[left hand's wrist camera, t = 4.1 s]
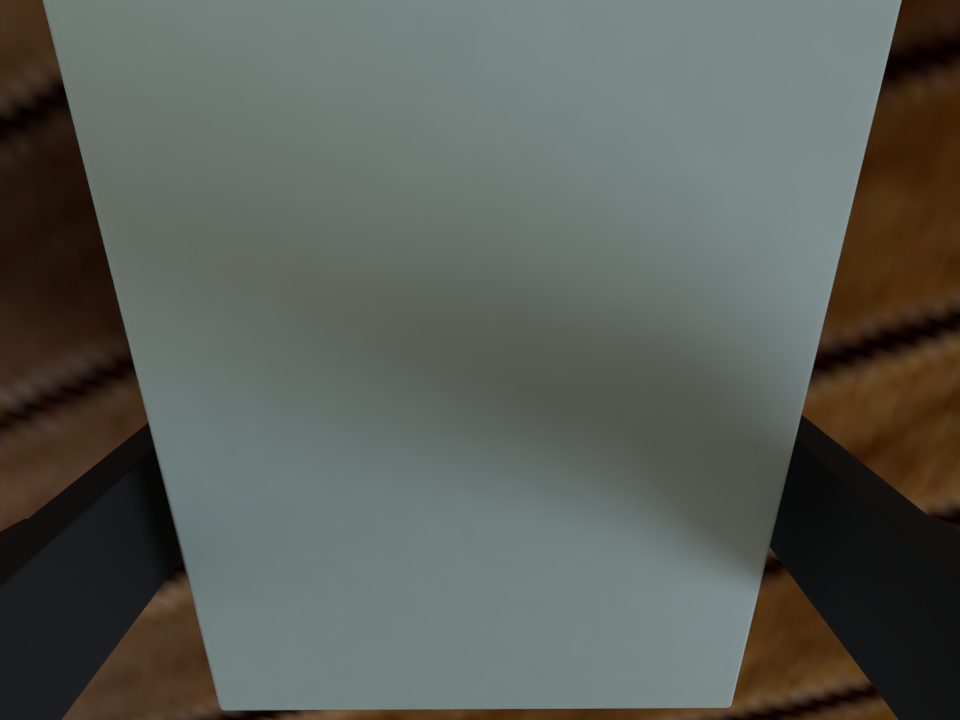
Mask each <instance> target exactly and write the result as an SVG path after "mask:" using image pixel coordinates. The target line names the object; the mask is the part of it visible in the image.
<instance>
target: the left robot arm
mask: <svg viewBox="0 0 960 720" xmlns="http://www.w3.org/2000/svg"><path fill="white" fill-rule="evenodd" d="M770 548H771V549H772V550H773V552H774V553H775V555H776V556H777V557H778V559H779V560H780V561H781V563H782V564H783V565H784V567H785V568H786V569H787V571H788V572H789V573H790V575H791V576H792V577H793V579H794V580H795V581H796V583H797V584H798V585H799V587H800V588H801V589H802V591H803V592H804V593H805V595H806V596H807V597H808V599H809V600H810V601H811V603H812V604H813V605H814V607H815V608H816V610H817V611H818V612H819V614H820V615H821V616H822V618H823V619H824V620H825V622H826V623H827V624H828V626H829V627H830V628H831V630H832V631H833V632H834V634H835V635H836V636H837V638H838V639H839V640H840V642H841V643H842V644H843V646H844V647H845V648H846V650H847V651H848V652H849V654H850V655H851V656H852V658H853V659H854V660H855V662H856V663H857V665H858V666H859V667H860V669H861V670H862V671H863V673H864V674H865V675H866V677H867V678H868V679H869V681H870V682H871V683H872V685H873V686H874V687H875V689H876V690H877V691H878V693H879V694H880V695H881V697H882V698H883V699H884V701H885V702H886V703H887V705H888V706H889V707H890V709H891V710H892V711H893V713H894V714H895V715H896V717H897V718H898V720H960V529H958V528H956V527H954V526H952V525H950V524H948V523H946V522H944V521H943V520H941V519H939V518H937V517H929V516H928V515H927V514H925V513H924V512H923V511H922V510H920V509H919V508H918V507H917V506H915V505H914V504H913V503H912V502H910V501H909V500H908V499H907V498H905V497H904V496H903V495H902V494H900V493H899V492H898V491H897V490H895V489H894V488H893V487H892V486H890V485H889V484H888V483H887V482H885V481H884V480H883V479H882V478H880V477H879V476H878V475H877V474H875V473H874V472H873V471H872V470H870V469H869V468H868V467H867V466H865V465H864V464H863V463H861V462H860V461H859V460H858V459H856V458H855V457H854V456H853V455H851V454H850V453H849V452H848V451H846V450H845V449H844V448H843V447H841V446H840V445H839V444H838V443H836V442H835V441H834V440H833V439H831V438H830V437H829V436H828V435H826V434H825V433H824V432H823V431H821V430H820V429H819V428H818V427H816V426H815V425H814V424H813V423H811V422H810V421H809V420H808V419H806V418H805V417H804V416H803V415H801V418H800V422H799V426H798V431H797V435H796V439H795V443H794V447H793V451H792V455H791V459H790V464H789V468H788V472H787V476H786V480H785V484H784V488H783V493H782V497H781V501H780V505H779V509H778V513H777V517H776V522H775V526H774V530H773V534H772V538H771V542H770ZM181 559H182V554H181V550H180V546H179V542H178V538H177V534H176V530H175V526H174V522H173V518H172V514H171V510H170V506H169V502H168V498H167V494H166V490H165V486H164V482H163V478H162V474H161V470H160V466H159V462H158V458H157V454H156V450H155V446H154V442H153V438H152V434H151V430H150V426H149V423H147V424H146V425H145V426H144V427H142V428H141V429H140V430H139V431H137V432H136V433H135V434H134V435H132V436H131V437H130V438H129V439H127V440H126V441H125V442H124V443H122V444H121V445H120V446H119V447H117V448H116V449H115V450H114V451H112V452H111V453H110V454H109V455H107V456H106V457H105V458H104V459H102V460H101V461H100V462H99V463H97V464H96V465H95V466H93V467H92V468H91V469H90V470H88V471H87V472H86V473H85V474H83V475H82V476H81V477H80V478H78V479H77V480H76V481H75V482H73V483H72V484H71V485H70V486H68V487H67V488H66V489H65V490H63V491H62V492H61V493H60V494H58V495H57V496H56V497H55V498H53V499H52V500H51V501H50V502H48V503H47V504H46V505H45V506H43V507H42V508H41V509H40V510H38V511H37V512H36V513H35V514H33V515H32V516H31V517H30V518H28V519H24V520H22V521H20V522H18V523H16V524H14V525H12V526H10V527H8V528H7V529H5V530H3V531H1V532H0V720H62V718H63V717H64V715H65V714H66V713H67V711H68V710H69V709H70V707H71V706H72V705H73V703H74V702H75V701H76V699H77V698H78V697H79V695H80V694H81V693H82V691H83V690H84V689H85V687H86V686H87V685H88V683H89V682H90V681H91V679H92V678H93V677H94V675H95V674H96V673H97V671H98V670H99V669H100V667H101V666H102V665H103V663H104V662H105V660H106V659H107V658H108V656H109V655H110V654H111V652H112V651H113V650H114V648H115V647H116V646H117V644H118V643H119V642H120V640H121V639H122V638H123V636H124V635H125V634H126V632H127V631H128V630H129V628H130V627H131V626H132V624H133V623H134V622H135V620H136V619H137V618H138V616H139V615H140V614H141V612H142V611H143V610H144V608H145V607H146V605H147V604H148V603H149V601H150V600H151V599H152V597H153V596H154V595H155V593H156V592H157V591H158V589H159V588H160V587H161V585H162V584H163V583H164V581H165V580H166V579H167V577H168V576H169V575H170V573H171V572H172V571H173V569H174V568H175V567H176V565H177V564H178V563H179V561H180V560H181Z"/></svg>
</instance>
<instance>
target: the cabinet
mask: <svg viewBox="0 0 960 720" xmlns="http://www.w3.org/2000/svg"><path fill="white" fill-rule="evenodd" d="M43 3H44V7H45V11H46V15H47V19H48V23H49V27H50V31H51V35H52V39H53V43H54V47H55V51H56V55H57V59H58V63H59V67H60V71H61V75H62V79H63V83H64V87H65V91H66V95H67V99H68V103H69V107H70V111H71V115H72V119H73V123H74V127H75V131H76V135H77V139H78V143H79V147H80V151H81V155H82V159H83V163H84V167H85V171H86V175H87V179H88V183H89V187H90V191H91V195H92V199H93V203H94V207H95V211H96V215H97V219H98V223H99V227H100V231H101V235H102V239H103V243H104V247H105V251H106V255H107V259H108V263H109V267H110V271H111V275H112V279H113V282H114V286H115V290H116V294H117V298H118V302H119V306H120V310H121V314H122V318H123V322H124V326H125V330H126V334H127V338H128V342H129V346H130V350H131V354H132V358H133V362H134V366H135V370H136V374H137V378H138V382H139V386H140V390H141V394H142V398H143V402H144V406H145V410H146V414H147V418H148V422H149V426H150V430H151V434H152V438H153V442H154V446H155V450H156V454H157V458H158V462H159V466H160V470H161V474H162V478H163V482H164V486H165V490H166V494H167V498H168V502H169V506H170V510H171V514H172V518H173V522H174V526H175V530H176V534H177V538H178V542H179V546H180V550H181V554H182V558H183V562H184V566H185V570H186V573H187V577H188V581H189V585H190V589H191V593H192V597H193V601H194V605H195V609H196V613H197V617H198V621H199V625H200V629H201V633H202V637H203V641H204V645H205V649H206V653H207V657H208V661H209V665H210V669H211V673H212V677H213V681H214V685H215V689H216V693H217V697H218V701H219V705H220V708H221V709H223V710H363V709H569V708H728V707H730V706H731V704H732V699H733V695H734V691H735V687H736V683H737V679H738V675H739V671H740V666H741V662H742V658H743V654H744V650H745V646H746V642H747V637H748V633H749V629H750V625H751V621H752V617H753V613H754V608H755V604H756V600H757V596H758V592H759V588H760V584H761V579H762V575H763V571H764V567H765V563H766V559H767V555H768V551H769V546H770V542H771V538H772V534H773V530H774V526H775V522H776V517H777V513H778V509H779V505H780V501H781V497H782V493H783V488H784V484H785V480H786V476H787V472H788V468H789V464H790V459H791V455H792V451H793V447H794V443H795V439H796V435H797V431H798V426H799V422H800V418H801V414H802V410H803V406H804V402H805V397H806V393H807V389H808V385H809V381H810V377H811V373H812V368H813V364H814V360H815V356H816V352H817V348H818V344H819V340H820V335H821V331H822V327H823V323H824V319H825V315H826V311H827V306H828V302H829V298H830V294H831V290H832V286H833V282H834V277H835V273H836V269H837V265H838V261H839V257H840V253H841V248H842V244H843V240H844V236H845V232H846V228H847V224H848V220H849V215H850V211H851V207H852V203H853V199H854V195H855V191H856V186H857V182H858V178H859V174H860V170H861V166H862V162H863V157H864V153H865V149H866V145H867V141H868V137H869V133H870V128H871V124H872V120H873V116H874V112H875V108H876V104H877V100H878V95H879V91H880V87H881V83H882V79H883V75H884V71H885V66H886V62H887V58H888V54H889V50H890V46H891V42H892V37H893V33H894V29H895V25H896V21H897V17H898V13H899V9H900V4H901V0H43Z"/></svg>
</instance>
